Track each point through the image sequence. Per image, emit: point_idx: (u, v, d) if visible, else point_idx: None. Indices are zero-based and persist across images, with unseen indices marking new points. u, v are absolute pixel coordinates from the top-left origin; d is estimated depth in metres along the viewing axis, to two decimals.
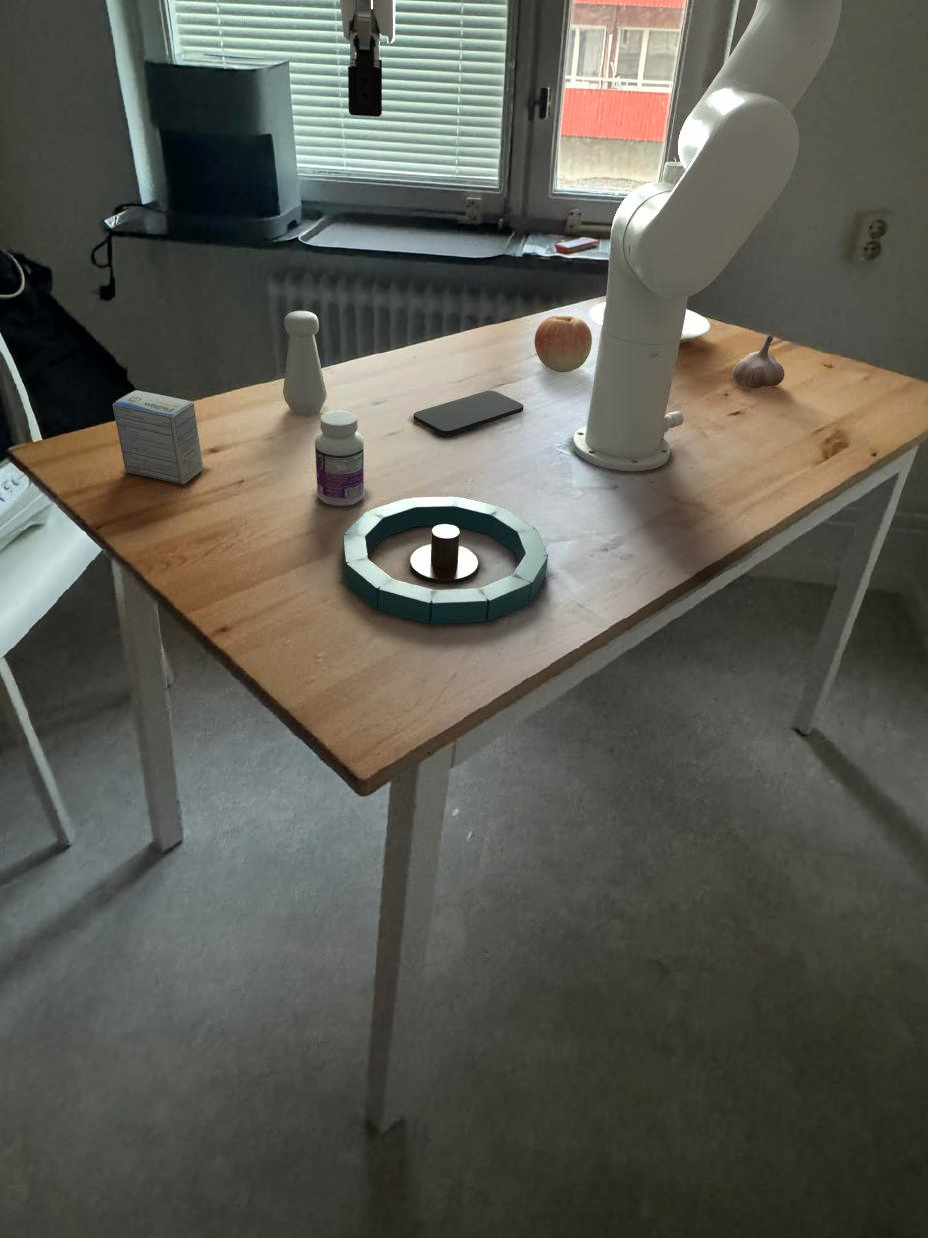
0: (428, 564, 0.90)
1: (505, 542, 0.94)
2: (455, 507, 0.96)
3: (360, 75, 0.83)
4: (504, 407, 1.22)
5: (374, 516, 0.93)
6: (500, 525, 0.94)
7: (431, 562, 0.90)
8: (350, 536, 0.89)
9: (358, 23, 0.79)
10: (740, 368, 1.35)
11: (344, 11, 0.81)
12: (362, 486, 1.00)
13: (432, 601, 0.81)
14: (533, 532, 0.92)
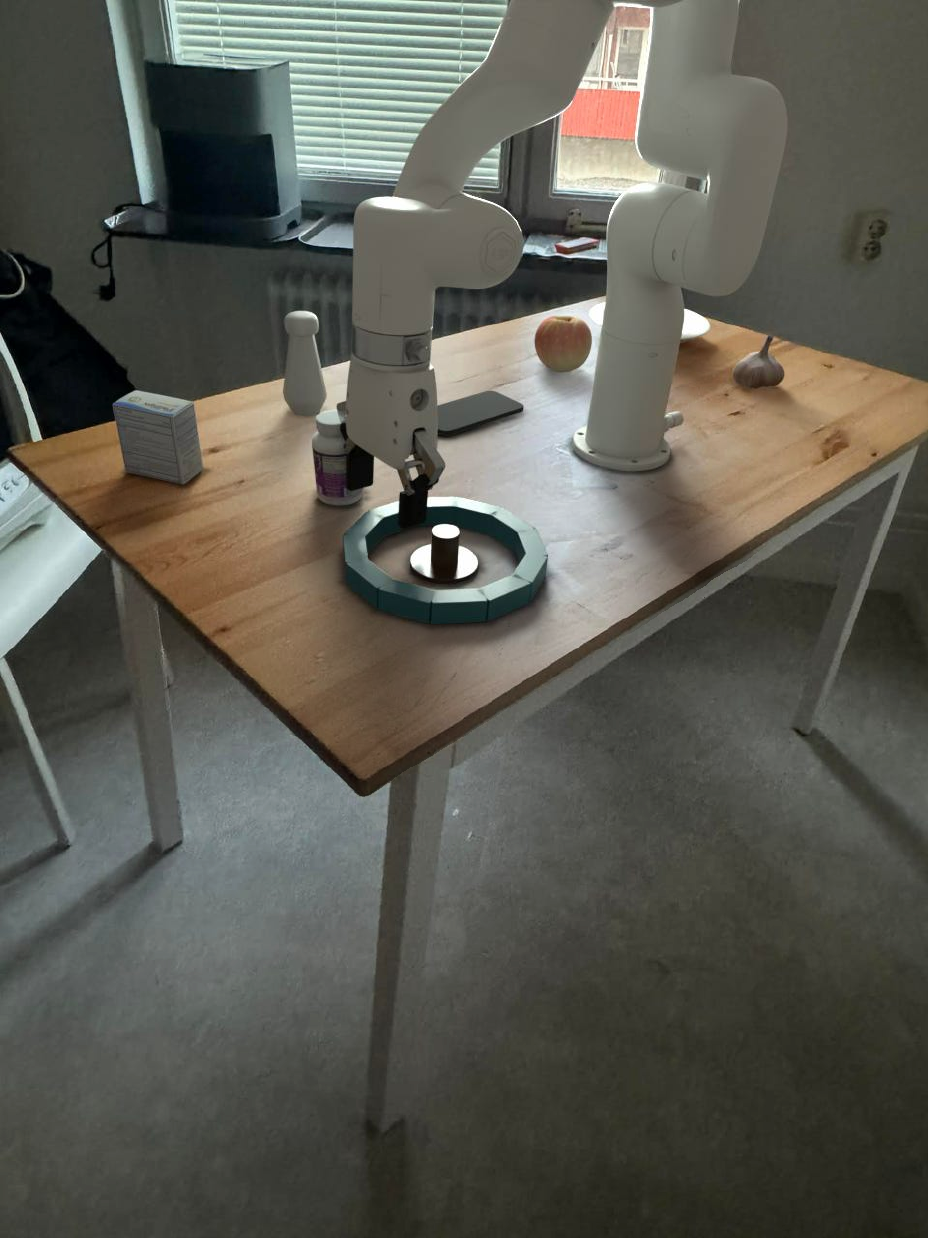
0: (428, 564, 0.90)
1: (505, 542, 0.94)
2: (455, 507, 0.96)
3: (416, 499, 0.88)
4: (504, 407, 1.22)
5: (374, 516, 0.93)
6: (500, 525, 0.94)
7: (431, 562, 0.90)
8: (350, 536, 0.89)
9: (434, 472, 0.84)
10: (740, 368, 1.35)
11: (401, 452, 0.85)
12: None
13: (432, 601, 0.81)
14: (533, 532, 0.92)
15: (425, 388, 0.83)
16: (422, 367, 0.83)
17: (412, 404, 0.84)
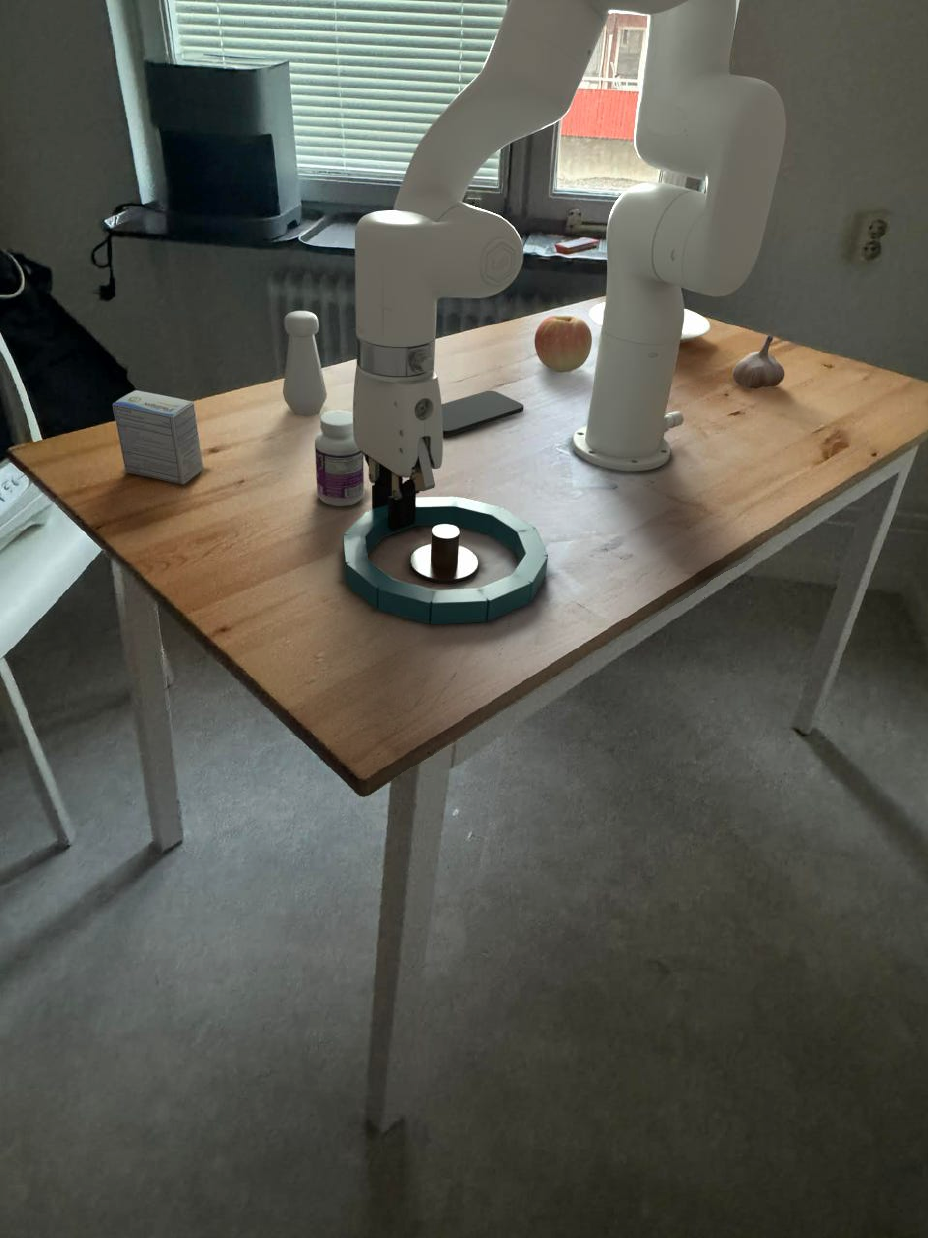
0: (428, 564, 0.90)
1: (505, 542, 0.94)
2: (455, 507, 0.96)
3: (404, 503, 0.92)
4: (504, 407, 1.22)
5: (374, 516, 0.93)
6: (500, 525, 0.94)
7: (431, 562, 0.90)
8: (350, 536, 0.89)
9: (423, 490, 0.88)
10: (740, 368, 1.35)
11: (407, 461, 0.86)
12: (362, 486, 1.00)
13: (432, 601, 0.81)
14: (533, 532, 0.92)
15: (429, 397, 0.84)
16: (426, 377, 0.84)
17: (417, 413, 0.85)
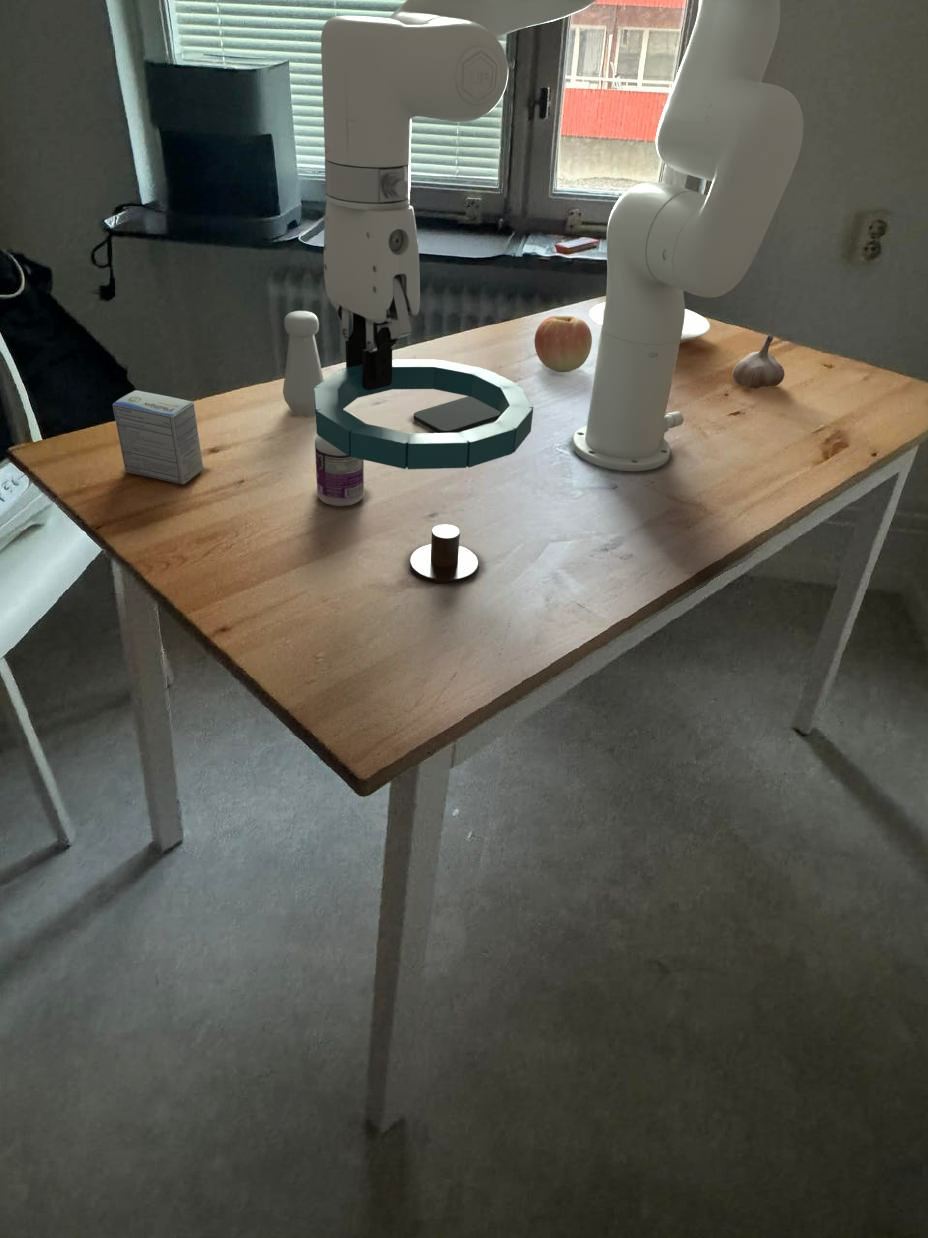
0: (428, 564, 0.90)
1: (488, 403, 0.89)
2: (435, 368, 0.90)
3: (379, 357, 0.86)
4: None
5: (348, 373, 0.87)
6: (482, 384, 0.88)
7: (431, 562, 0.90)
8: (321, 389, 0.84)
9: (398, 337, 0.82)
10: (740, 368, 1.35)
11: (382, 301, 0.80)
12: (362, 486, 1.00)
13: (408, 442, 0.75)
14: (517, 388, 0.86)
15: (404, 229, 0.78)
16: (400, 206, 0.78)
17: (391, 248, 0.79)
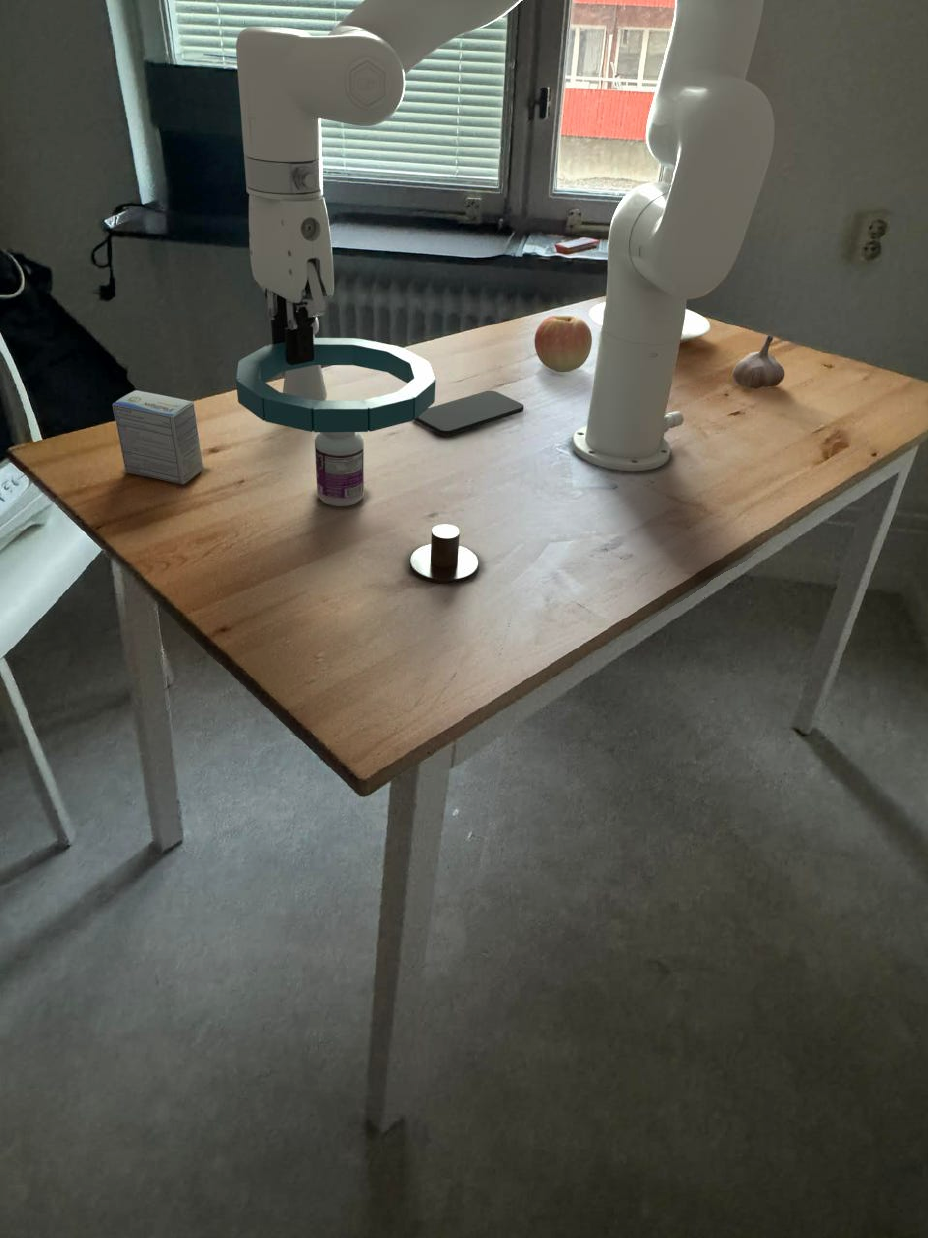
0: (428, 564, 0.90)
1: (400, 377, 0.97)
2: (353, 346, 0.99)
3: (300, 335, 0.95)
4: (504, 407, 1.22)
5: (272, 349, 0.96)
6: (395, 360, 0.97)
7: (431, 562, 0.90)
8: (245, 362, 0.93)
9: (314, 315, 0.91)
10: (740, 368, 1.35)
11: (297, 283, 0.89)
12: (362, 486, 1.00)
13: (314, 407, 0.84)
14: (425, 364, 0.95)
15: (315, 217, 0.87)
16: (312, 197, 0.87)
17: (305, 235, 0.88)
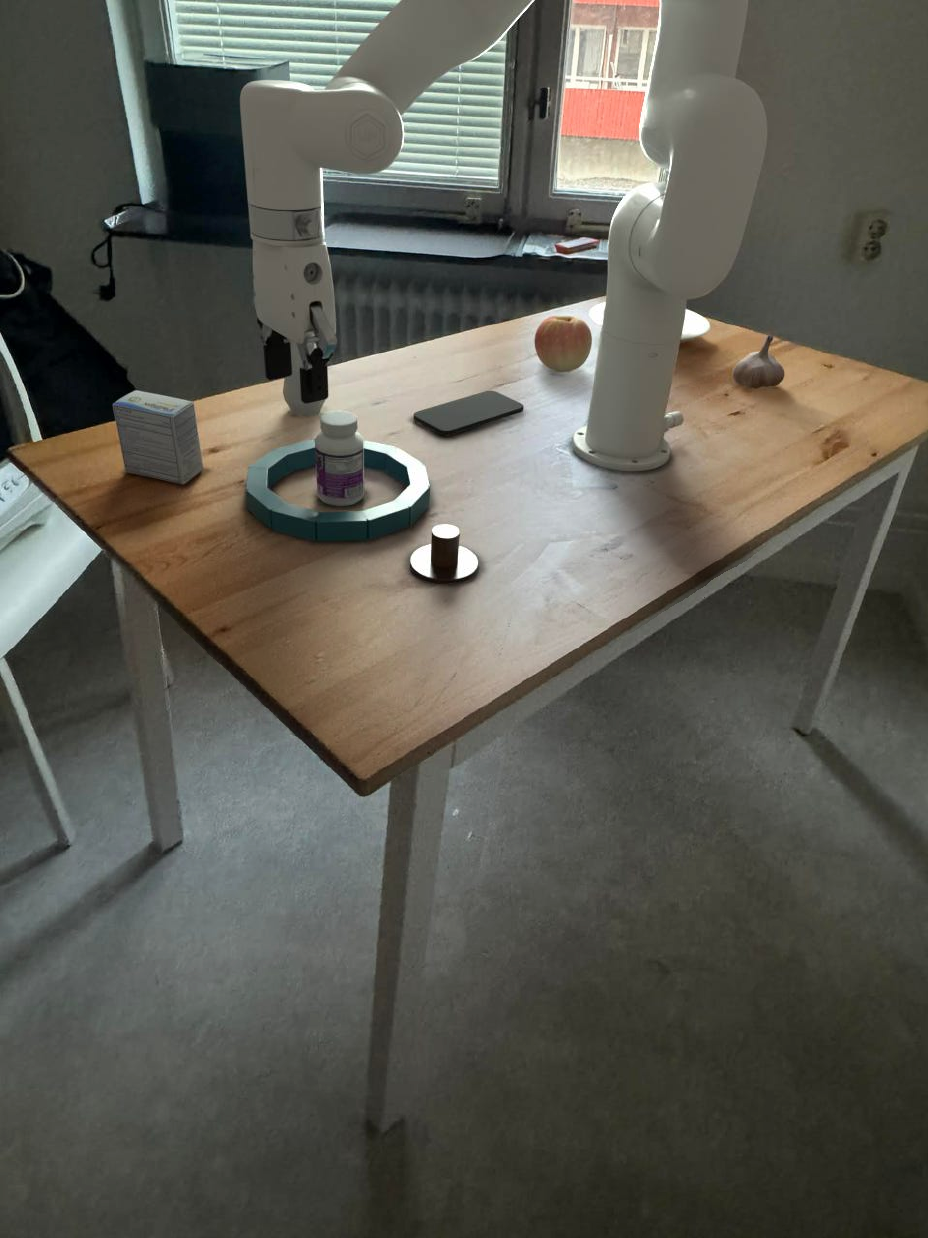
0: (428, 564, 0.90)
1: (398, 478, 1.05)
2: None
3: (314, 374, 0.96)
4: (504, 407, 1.22)
5: (279, 453, 1.04)
6: (393, 462, 1.05)
7: (431, 562, 0.90)
8: (254, 469, 1.00)
9: (327, 347, 0.91)
10: (740, 368, 1.35)
11: (300, 325, 0.92)
12: (362, 486, 1.00)
13: (317, 520, 0.92)
14: (421, 467, 1.03)
15: (318, 262, 0.90)
16: (314, 243, 0.90)
17: (308, 279, 0.91)
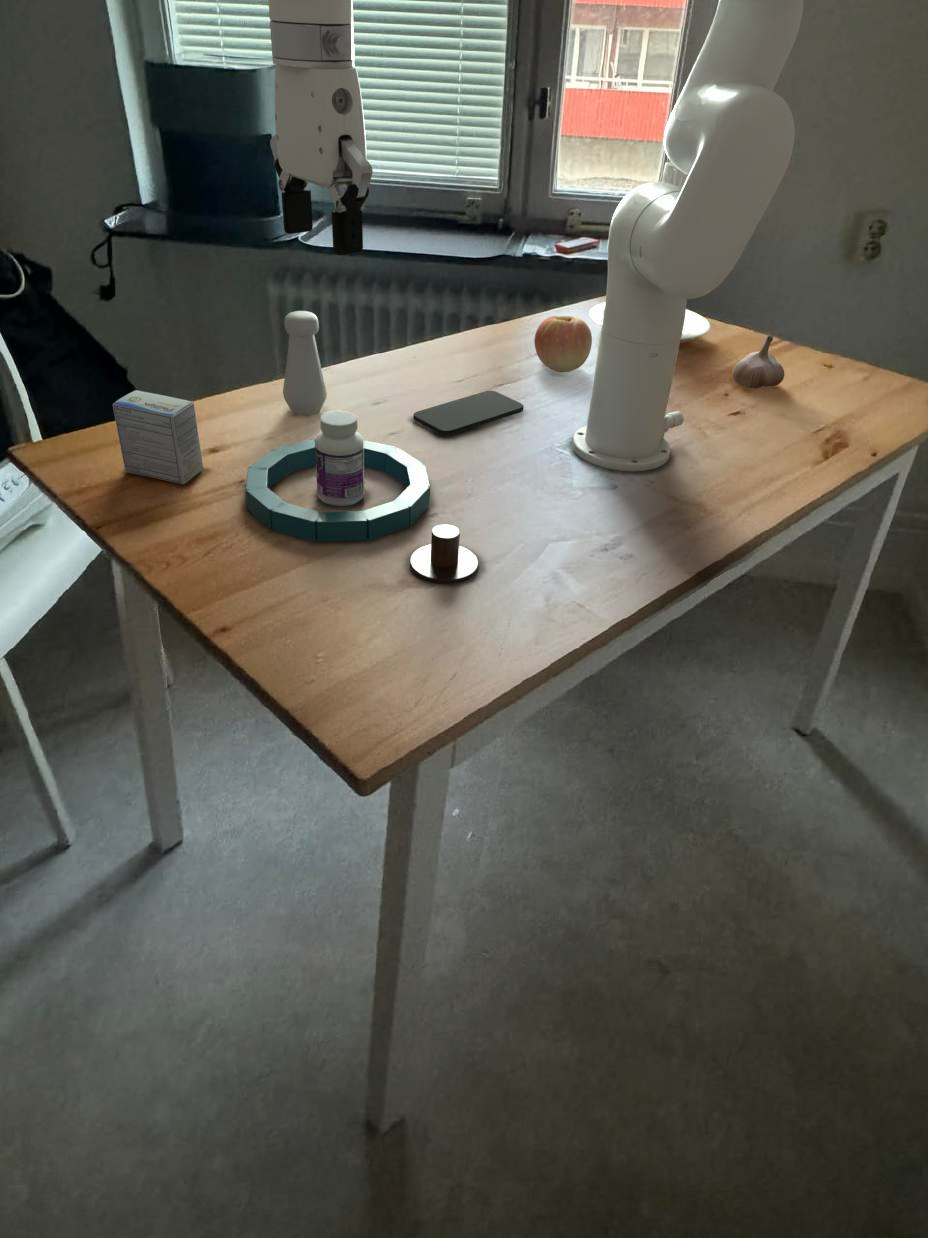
0: (428, 564, 0.90)
1: (398, 478, 1.05)
2: None
3: (348, 219, 0.86)
4: (504, 407, 1.22)
5: (279, 453, 1.04)
6: (393, 462, 1.05)
7: (431, 562, 0.90)
8: (254, 469, 1.00)
9: (361, 176, 0.82)
10: (740, 368, 1.35)
11: (328, 162, 0.83)
12: (362, 486, 1.00)
13: (317, 520, 0.92)
14: (421, 467, 1.03)
15: (347, 88, 0.81)
16: (344, 66, 0.81)
17: (336, 109, 0.82)
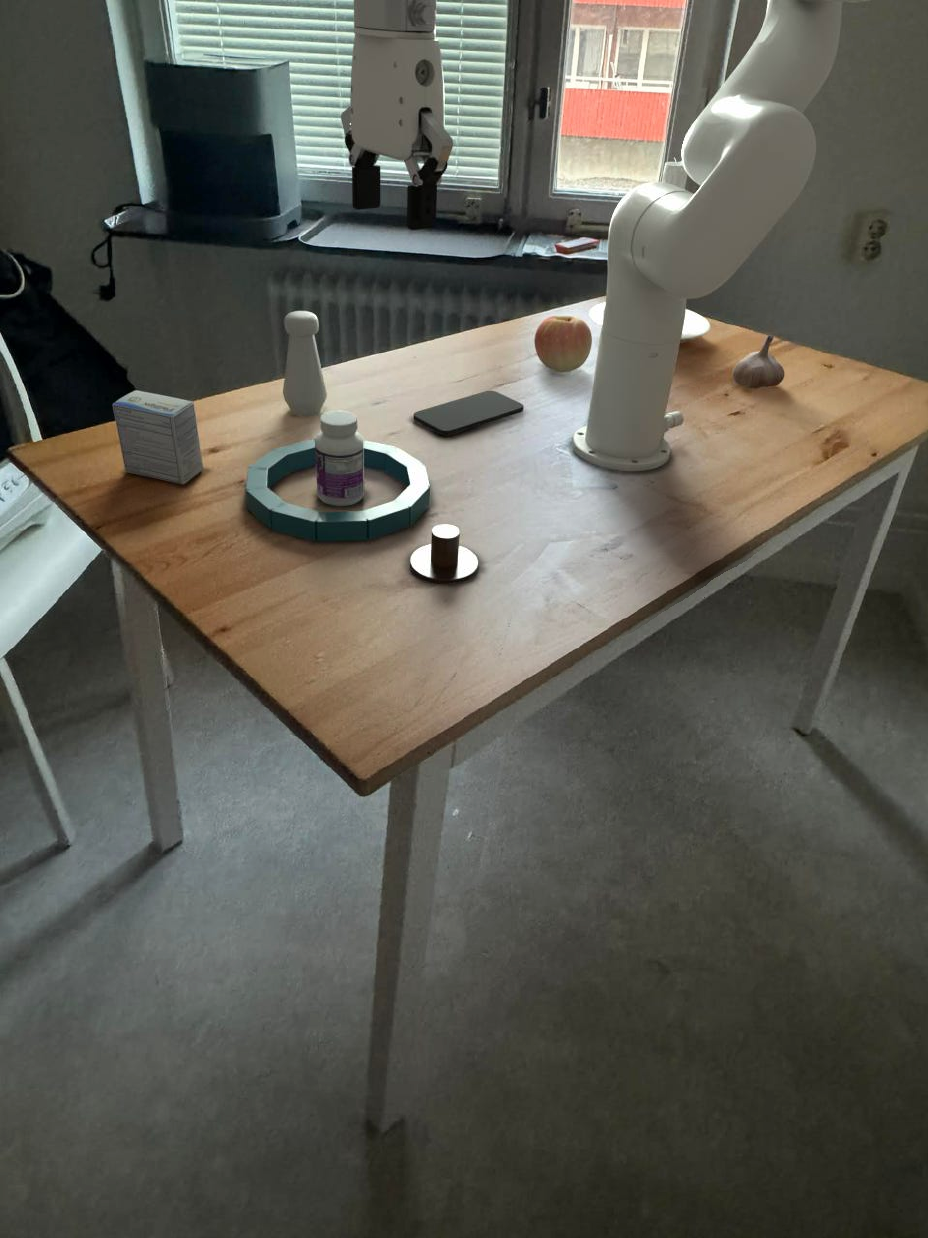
0: (428, 564, 0.90)
1: (398, 478, 1.05)
2: None
3: (424, 193, 0.85)
4: (504, 407, 1.22)
5: (279, 453, 1.04)
6: (393, 462, 1.05)
7: (431, 562, 0.90)
8: (254, 469, 1.00)
9: (442, 149, 0.81)
10: (740, 368, 1.35)
11: (407, 135, 0.82)
12: (362, 486, 1.00)
13: (317, 520, 0.92)
14: (421, 467, 1.03)
15: (430, 60, 0.80)
16: (427, 38, 0.80)
17: (417, 81, 0.81)
